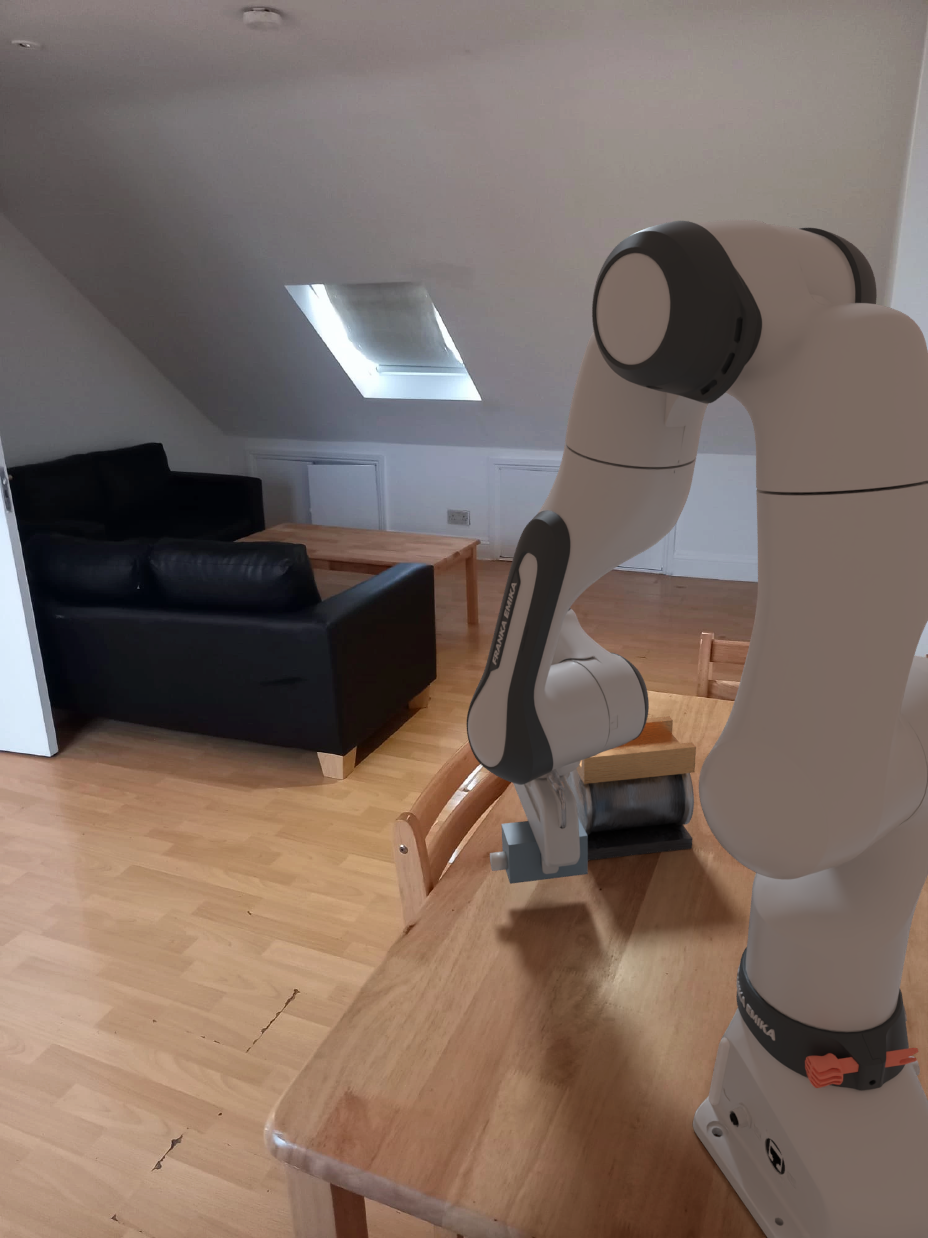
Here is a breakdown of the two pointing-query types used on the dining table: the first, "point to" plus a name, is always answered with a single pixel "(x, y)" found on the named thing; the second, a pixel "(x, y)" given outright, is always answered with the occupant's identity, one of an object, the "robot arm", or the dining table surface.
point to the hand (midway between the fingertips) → (543, 855)
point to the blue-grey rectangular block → (532, 855)
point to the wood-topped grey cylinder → (637, 794)
